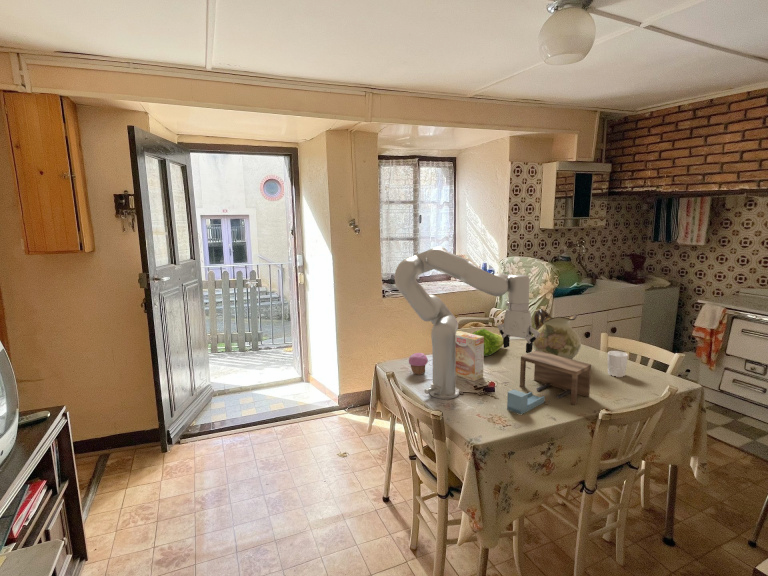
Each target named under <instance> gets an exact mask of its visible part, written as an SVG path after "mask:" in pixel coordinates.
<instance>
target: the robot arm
mask: <svg viewBox="0 0 768 576" xmlns="http://www.w3.org/2000/svg"><path fill="white" fill-rule="evenodd" d="M432 270H435V271H437V272H440V273H443V274H445V275H447V276H449V277H453V278H454V279H457V280H459V281H461V282H463V283H464V284H466V285H468V286H470V287H472V288H474V289H476V290H478V291H480V292H483V293H485V294H488V295H490V296H493V297H502V296H504V295H505V294H507V296H508V297H507V302H505V306H507V309H505V312H504V318H503V323H501V324H498V325H497V328H498V331H499V335H502V337H503V345H502V346H503V348H504V349H506V348H509V347H510V339H511V338H510V337H515V338H518V339H519V338H520V339H525V341H526V344H525V353H526V354H529V353H531V352H533V348H534V347H533V342H534V341H535V340H536V339H537V337H538V336H539V334H540V333H539V332H538V331H537V329H536V328H534V327H533V321H532V314H531V311H530V310H529V309H530V308H529V307H530V306H529V305H530V277H529V276H528V275H526V274H506V273H500V272H499V273H494V274H493V273H491V272H488V271H486V270H484V269H482V268H480V267H479V266H476V265H475V264H474V263H473V262H472V260H471V261H470V259H468V258H464V257H462V256H459V255H458V254H454V253H453V252H452V253H451V251H448V250H447V249H446V248H445V247H443V246H434V247H432V248H431V249H428V250H426V251H425V250H424V251H423V252H420V253H417V254H415V255H411V256H409V257H407V258H405V259H403V260H402V261H400V262H399V264H397V267H396V269H395V272H394V284H395V285H396V288H397V290H398V292H399V293H400V294H401V295H402V296H403V298H404V299H405V300H406V301H407V303H408V304H409V306H410V307H411V308H412V310H413V311H414V312H415V313H416V314H417V316H418V317H419V319H421V320H422V321H423V322H431V323H432V325H433V326H432V329H431V333H430V334H431V335H430V336H431V347H432V349H431V352H432V353H431V354H432V355H431V356H432V383H431V384H430V387H428V388H425V389H424V390H423V391H424V393H425V394H426V395H427V394H429V395H430V396H432V397H433V398H437V399H441V400H449V399H453V398H454V399H455V398H457V397H458V396H459V395H460V389H459V388H458V387H457V386H456V385H457V382H456V379H457V378H456V376H457V375H456V344H455V337H456V332H457V331H459V330H458V329H459V323H458V320H457V318H456V317H455V315H454V314H453V313H452V311H451V310H450V309H449V307H447V306H446V304H445V302H443V300H442V299H441V298H440V297H439V296H437V295H435V294H429V293H428V292H427V291H426V290H425V289H424V287H423V286H422V285H421V284H420V282H418V280H417V277H419V276H420V275H421V274H422V275H423V274H424V273H427V272H430V271H432Z"/></svg>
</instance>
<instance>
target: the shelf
mask: <svg viewBox="0 0 768 576" xmlns="http://www.w3.org/2000/svg"><path fill="white" fill-rule="evenodd" d="M526 362H527V363H530V364H533V365H534V370H533V371H534V373H533V375H534V376H533V380H534V381H536V382H539V383H541V384H542V385H540V386H539V387H537V388H536V391H537V392H541V391H543V390H544V389H546V388H548V387H551V386H552V387H554V388H559V389H561V390H564V391H562V392H560V393H559V394H557V395H556V398H557V399H561V398H562V397H564V396H567V395H568V394H570V395H571V396H570V405H572V404H574V405H573V406H576V405H577V401H578V400H577V399H578V395H579V396H583V397H586V398H590V393H591V391H590V389H591V379H592V377H591V375H592V364H590V363H587V362H584V361H583V362H582V361H579V360H575V359H568V358H564V357H560V356H556V355H552V354H549V353H545V352H541V351H537V350H536V351H535V350H534V351H532V352H530V353H526V354H524V355H521V356H520V367H519V368H520V373H519V387H520V388H525V387H526V367H527V363H526ZM575 404H576V405H575Z"/></svg>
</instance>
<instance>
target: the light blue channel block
mask: <svg viewBox="0 0 768 576" xmlns="http://www.w3.org/2000/svg"><path fill="white" fill-rule="evenodd" d="M545 399H546V397H545V396H544V395H543V396H537V395H535V394H533V391H530V392H527V393H525V392H523V391H520V390H517V389H512V390H509V391H507V401H506V404H507V405H506V410H507V411H510V412H512V413H515V414H517V413H518V414H517V415H520V416H521V414H522V415H524V414H526V413H527V412H530V411H531V410H533V409H534V407H535V408H537V407H539V406H540V405H543V404H545ZM538 405H539V406H538ZM536 406H537V407H536ZM525 412H526V413H525ZM523 413H524V414H523Z"/></svg>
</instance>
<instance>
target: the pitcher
mask: <svg viewBox="0 0 768 576" xmlns="http://www.w3.org/2000/svg"><path fill="white" fill-rule="evenodd" d="M577 318H578V317H577V314H573V315H571V316H568V317H565V316H555V317H552V316H551V315H550V314H549V312H548V311H546V310H544V309H542V308H540V309H539V308H538V310H537V311H536V312H535V313H534V316H533V321H534V325H535V327H536V328H535V330H536V331H538V332H539V333H540V334H539V336H538V337H537V339H536V340H535V341H534V342H533V347H532V348H533V349H534V351H536V350H537V351H541V352H545V353H549V354H552V355H556V356H560V357H564V358H568V359H572V360H574V358H575V357H576V356H577V355H578V353H579V352H580V350H581V348H582V342H581V338H580V336H579V335H578V333H577V332H576V330H574V329H573V328H572V327H571V324H570V322H571V321H572V322H573V321H575V320H576V319H577Z"/></svg>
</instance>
